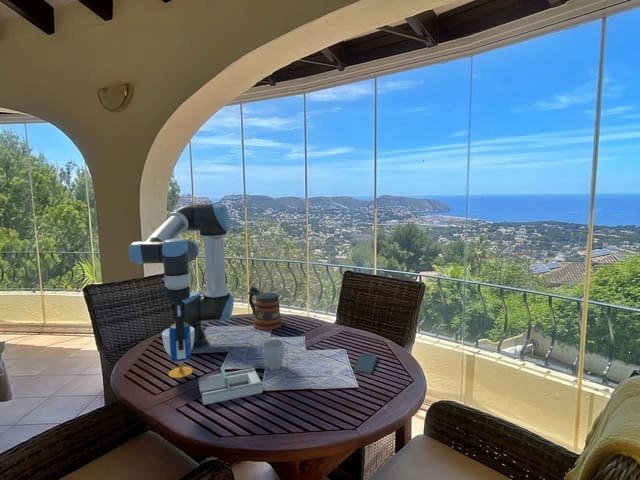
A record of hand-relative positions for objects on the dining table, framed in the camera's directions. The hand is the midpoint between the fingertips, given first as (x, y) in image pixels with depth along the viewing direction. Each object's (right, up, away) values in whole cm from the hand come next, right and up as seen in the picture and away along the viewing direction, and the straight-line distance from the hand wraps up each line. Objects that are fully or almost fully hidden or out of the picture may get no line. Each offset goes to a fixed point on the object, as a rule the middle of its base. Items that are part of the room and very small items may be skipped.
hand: (181, 353), depth 126 cm
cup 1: (-8, -14, +22) cm, 28 cm away
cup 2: (+28, -14, +26) cm, 41 cm away
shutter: (+9, -13, +6) cm, 17 cm away
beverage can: (0, -2, 0) cm, 2 cm away
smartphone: (+65, -14, +28) cm, 72 cm away
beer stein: (+17, -7, +74) cm, 76 cm away
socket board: (+14, -16, +9) cm, 23 cm away
